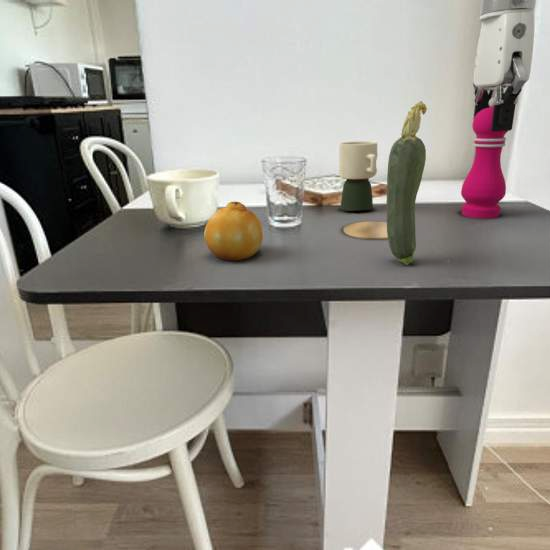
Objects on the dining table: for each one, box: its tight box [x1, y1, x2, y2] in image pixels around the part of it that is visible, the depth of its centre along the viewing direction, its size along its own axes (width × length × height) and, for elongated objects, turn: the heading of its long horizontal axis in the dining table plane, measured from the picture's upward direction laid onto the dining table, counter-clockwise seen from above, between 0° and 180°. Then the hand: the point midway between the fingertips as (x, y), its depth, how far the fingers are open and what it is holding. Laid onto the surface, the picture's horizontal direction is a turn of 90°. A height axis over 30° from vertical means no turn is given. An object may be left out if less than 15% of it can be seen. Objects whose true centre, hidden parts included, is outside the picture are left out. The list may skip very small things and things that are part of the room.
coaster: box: [343, 220, 388, 240], centre depth 72 cm, size 10×10×1 cm
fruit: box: [203, 200, 264, 261], centre depth 62 cm, size 8×8×8 cm
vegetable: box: [386, 100, 428, 266], centre depth 55 cm, size 4×4×20 cm
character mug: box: [338, 140, 378, 213], centre depth 84 cm, size 11×7×13 cm, turn 24°
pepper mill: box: [460, 96, 509, 219], centre depth 76 cm, size 7×7×20 cm
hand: (491, 128), depth 74 cm, fingers closed on pepper mill, 6 cm apart
